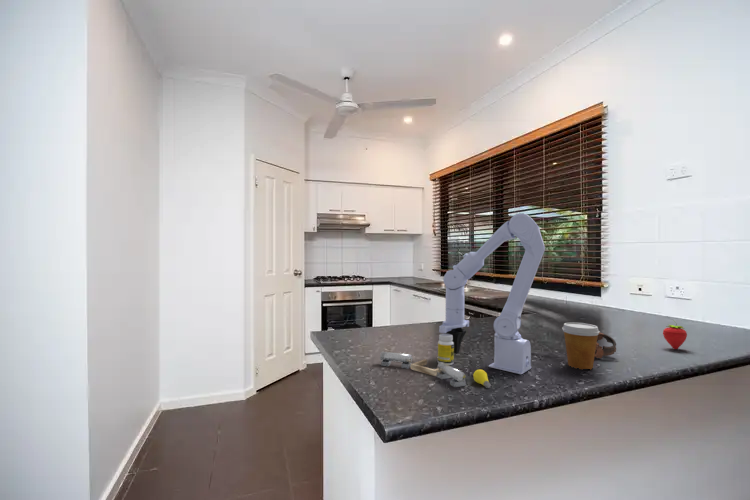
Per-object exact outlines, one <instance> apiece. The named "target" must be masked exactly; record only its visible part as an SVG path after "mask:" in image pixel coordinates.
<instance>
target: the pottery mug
mask: <svg viewBox="0 0 750 500" xmlns="http://www.w3.org/2000/svg"><path fill="white" fill-rule="evenodd" d="M603 339H605V340H606V342H607V343H610V344H611V346H606V345H603V346H600V343H598V342H599V341H602V340H603ZM616 351H617V343H616V340H615V339H614V338H613V337H611V336H610V335H608V334H605V333H602V332H600V333H599V334H598V336H597V343H596V350H595V357H594V358H596V359H598V358H600V359H602V358H603V357H607V356H611V355H614V354H615V353H616Z"/></svg>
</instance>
